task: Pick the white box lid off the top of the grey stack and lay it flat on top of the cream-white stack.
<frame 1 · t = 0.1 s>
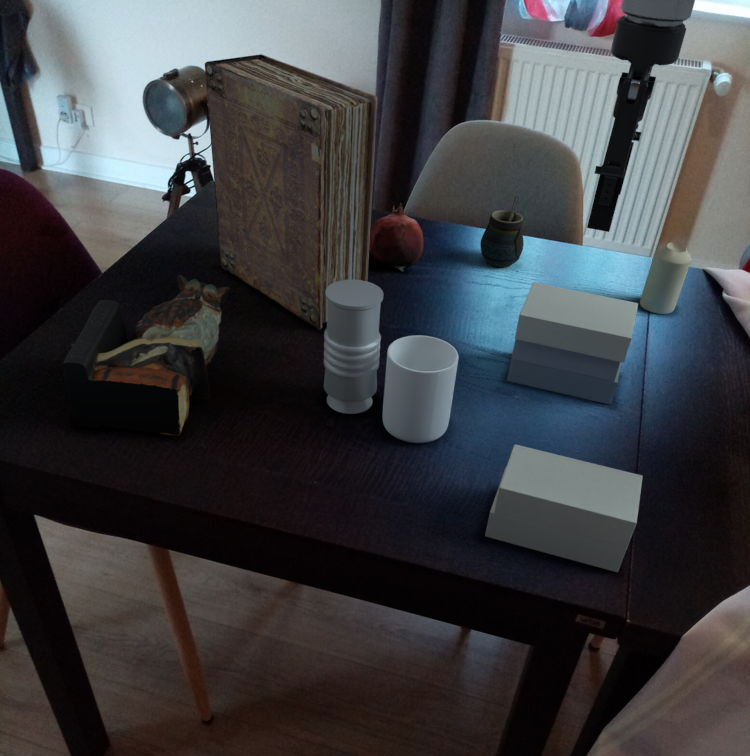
hand: (604, 210, 100), 20 cm above the table, tool pointing down, fingers open, 13 cm apart
bookend: (163, 379, 102), on the table
fruit: (394, 265, 132), on the table
white box lid: (573, 332, 103), point 7 cm above the table, touching grey stack
mug: (416, 418, 99), on the table
grey ribbed cylinder 2: (349, 401, 101), on the table
grey stack: (562, 378, 108), on the table
cream cylinder: (656, 307, 126), on the table
book: (291, 290, 123), on the table
white stack: (556, 529, 84), on the table
mate gourd: (498, 262, 135), on the table
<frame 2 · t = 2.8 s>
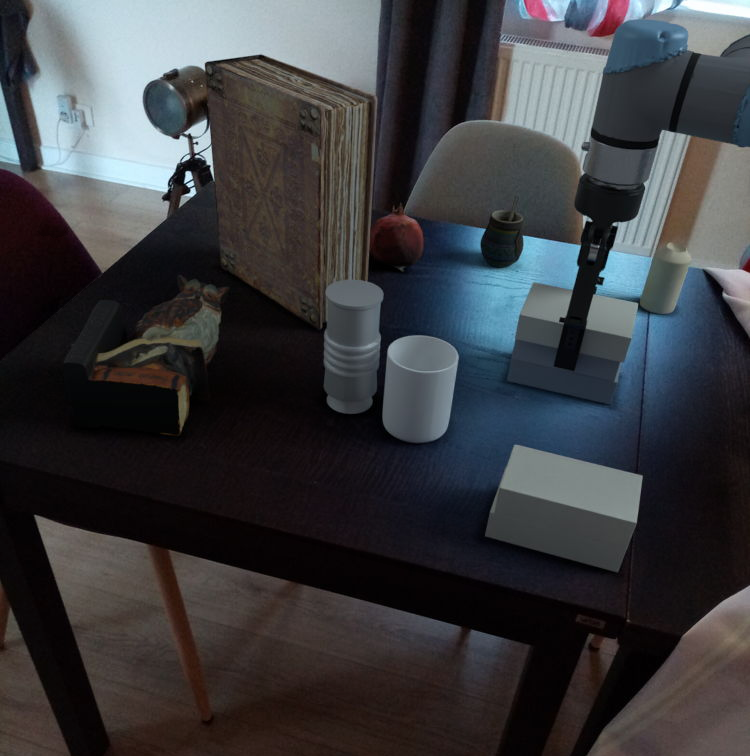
hand: (570, 347, 104), 5 cm above the table, tool pointing down, fingers closed on white box lid, 10 cm apart
white box lid: (574, 332, 103), point 7 cm above the table, touching grey stack, gripper
everything else where it was.
when the fingers open (5 cm above the table, at t = 11.2 s): white box lid stays where it is, resting on white stack.
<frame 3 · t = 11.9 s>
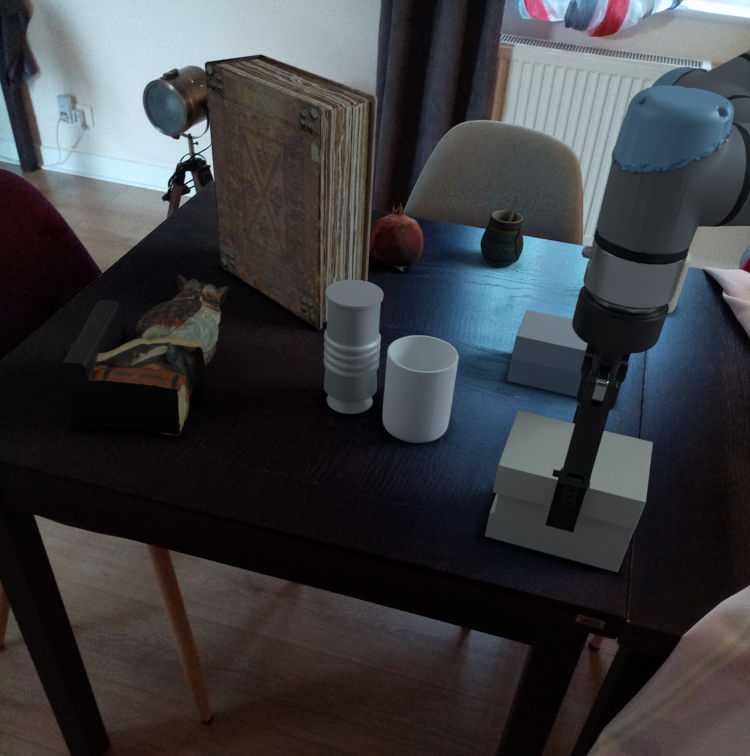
hand: (569, 484, 80), 6 cm above the table, tool pointing down, fingers open, 13 cm apart
white box lid: (569, 480, 80), point 7 cm above the table, touching white stack
everything else where it was.
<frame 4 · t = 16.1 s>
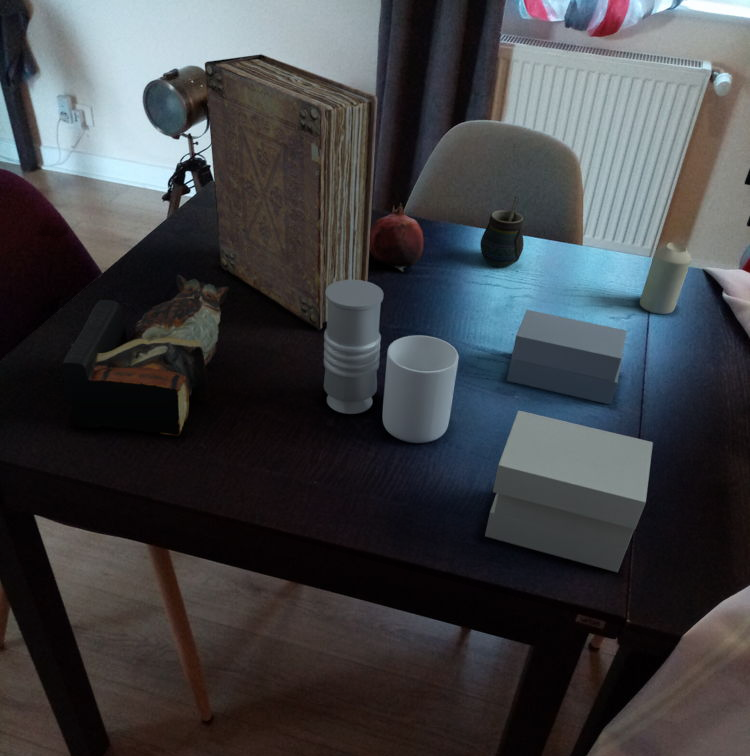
nothing on the table moved.
at the end: white box lid 0.1 cm off-centre on the white stack, point 7.0 cm above the white stack's base; white box lid tilted 0°; white box lid touching white stack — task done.
